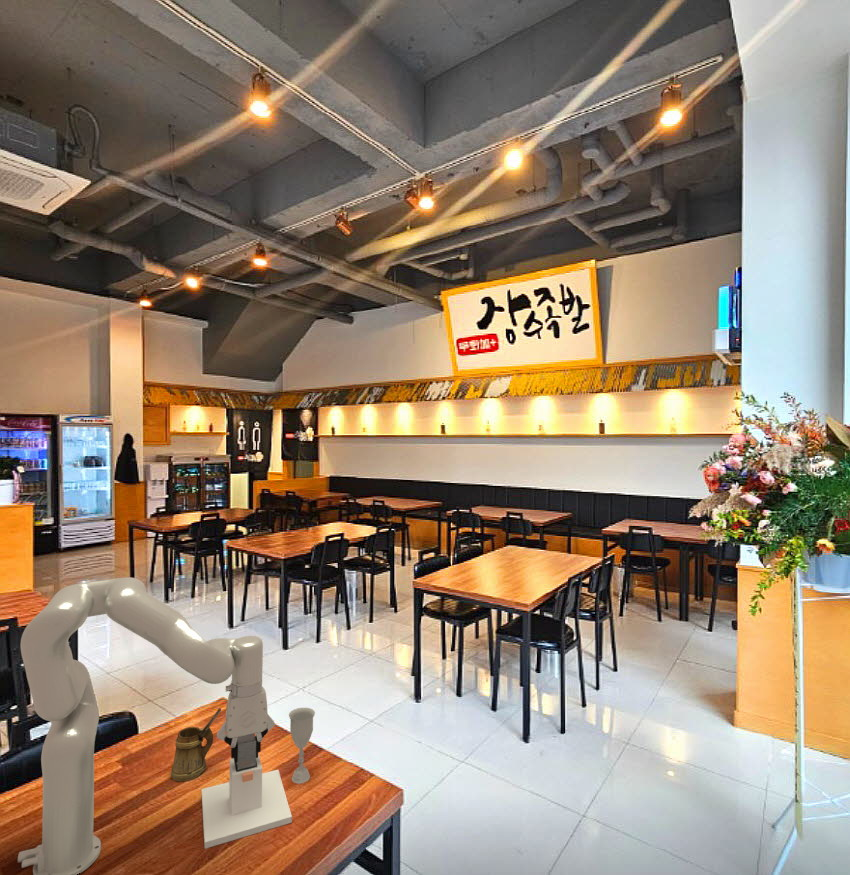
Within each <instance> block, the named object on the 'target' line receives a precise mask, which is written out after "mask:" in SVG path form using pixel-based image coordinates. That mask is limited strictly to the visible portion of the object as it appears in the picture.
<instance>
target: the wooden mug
mask: <svg viewBox="0 0 850 875" xmlns="http://www.w3.org/2000/svg"><path fill="white" fill-rule="evenodd" d="M221 711H222V709H221V707H219V708H218V709H217V710H216V712H215V713H214V714H213V716H212V718H210V720H209V721H208V722H207V723H206V725H205V726H204V727H203V728H200V727H198V726H189V727H185V728H183V729H181V730H180V731H178V733H177V737H176V739H175V744H174V745H175V752H174V757H173V764H172V768H171V771H170V778H171V779H172V780H173V781H175V782H178V783H179V782H180V783H181V782H188V781H191V780H194V779H196V778H198V777H199V776H201V775H202V774H203V772H204V771H205V770H206V769H207V761H206V756H207V754H208V753H209V751H210V749H211V747H212V746H213V743H214V734H213V731H212V729H211V727H210V726H211V725H212V723H213V722H214V721H215V719H216V718H218V715H219V714H220V713H221ZM204 740H206V743H205V745H204V746H203V743H202V742H204Z"/></svg>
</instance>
